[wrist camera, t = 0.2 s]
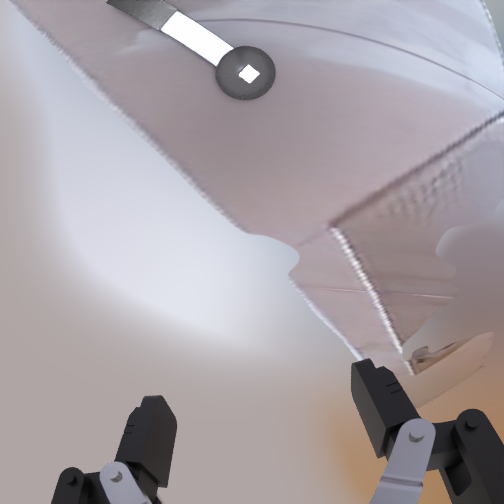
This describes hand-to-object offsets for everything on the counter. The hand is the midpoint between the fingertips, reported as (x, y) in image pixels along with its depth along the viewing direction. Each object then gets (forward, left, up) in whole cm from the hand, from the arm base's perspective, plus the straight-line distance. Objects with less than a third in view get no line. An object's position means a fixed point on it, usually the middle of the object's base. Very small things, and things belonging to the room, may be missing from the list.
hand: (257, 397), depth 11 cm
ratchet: (-13, +9, -31) cm, 35 cm away
